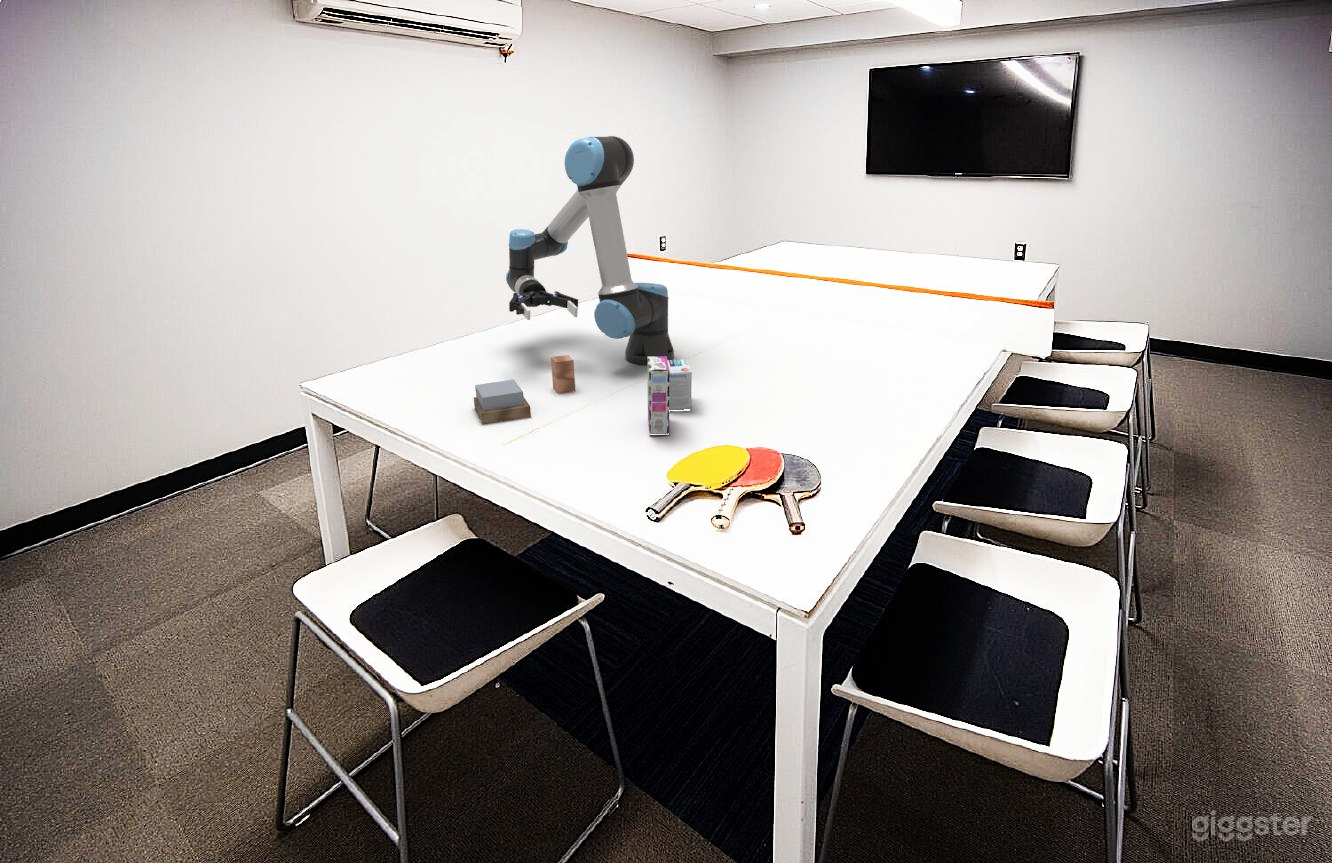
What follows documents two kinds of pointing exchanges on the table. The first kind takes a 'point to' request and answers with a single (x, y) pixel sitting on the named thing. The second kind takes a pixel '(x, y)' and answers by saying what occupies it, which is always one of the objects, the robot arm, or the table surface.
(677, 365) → the light bulb box
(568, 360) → the terracotta block
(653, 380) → the candy bar box
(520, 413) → the walnut slab
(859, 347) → the table surface
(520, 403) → the slate slab
